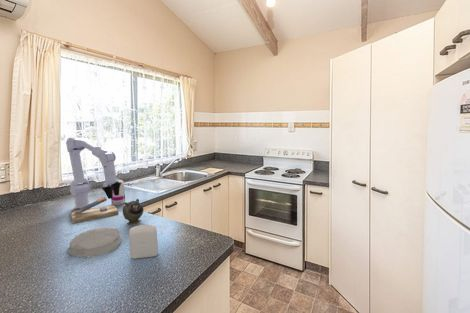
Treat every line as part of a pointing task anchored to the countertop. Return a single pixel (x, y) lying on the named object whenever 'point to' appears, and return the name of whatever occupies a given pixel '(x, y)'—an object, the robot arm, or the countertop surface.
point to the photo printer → (143, 241)
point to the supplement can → (121, 197)
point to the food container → (95, 242)
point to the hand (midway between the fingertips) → (113, 196)
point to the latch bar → (92, 204)
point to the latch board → (93, 213)
